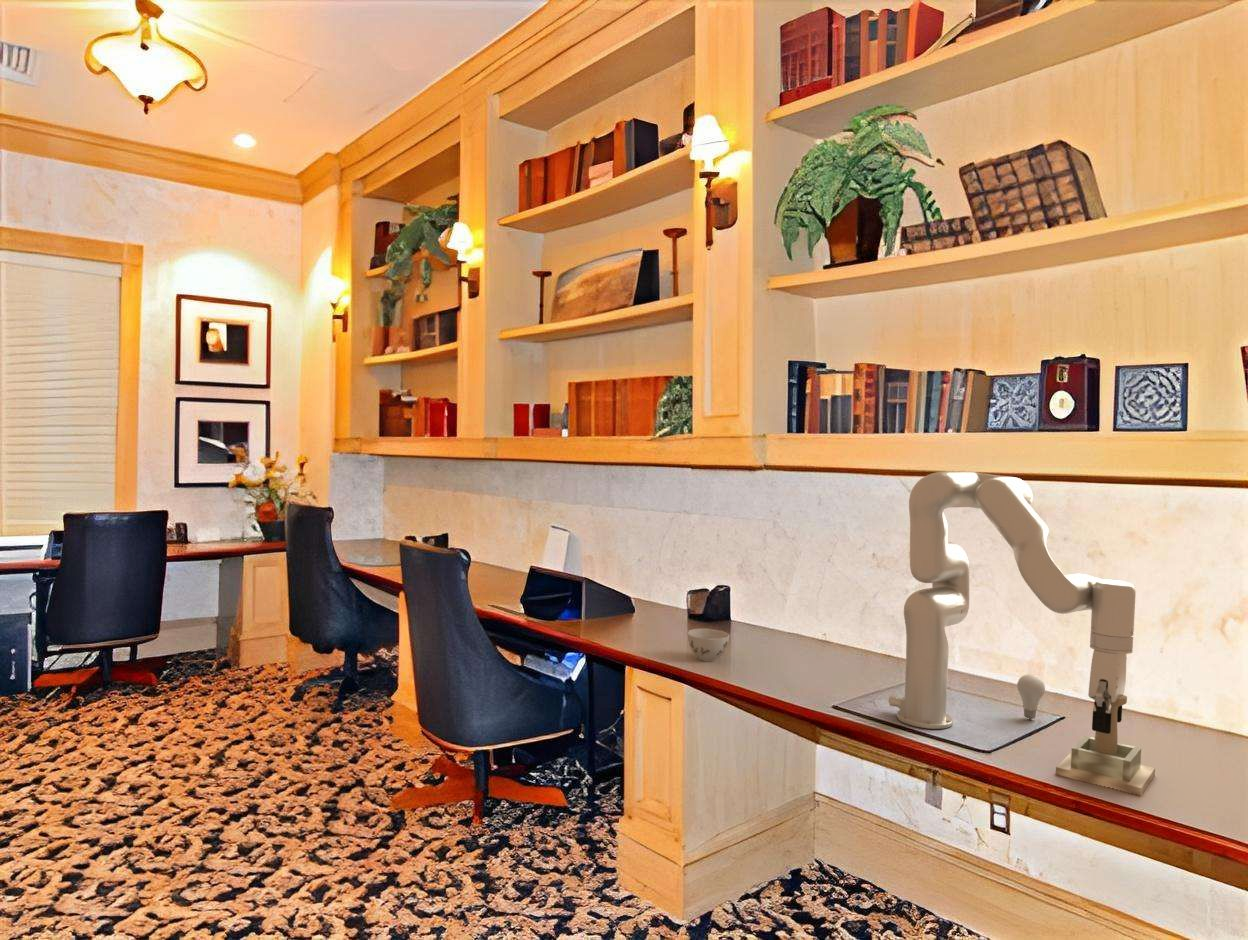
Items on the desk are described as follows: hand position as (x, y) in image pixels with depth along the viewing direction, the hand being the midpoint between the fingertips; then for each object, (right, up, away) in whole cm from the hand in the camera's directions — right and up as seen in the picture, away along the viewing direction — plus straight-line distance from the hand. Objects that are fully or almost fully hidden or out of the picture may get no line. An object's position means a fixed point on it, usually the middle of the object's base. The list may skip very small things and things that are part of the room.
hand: (1106, 726), depth 174 cm
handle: (0, -9, 0) cm, 9 cm away
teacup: (-72, -5, +86) cm, 112 cm away
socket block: (0, -10, 0) cm, 10 cm away
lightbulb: (+1, -9, +35) cm, 36 cm away
